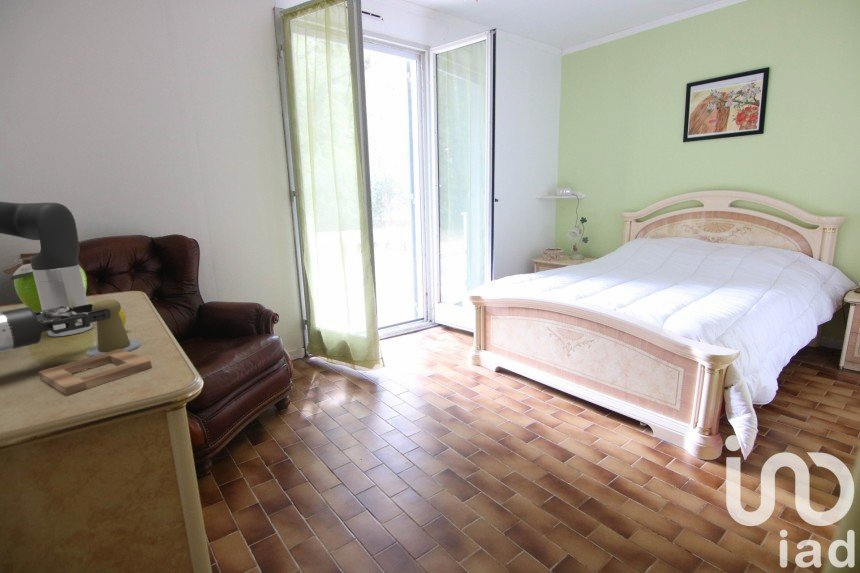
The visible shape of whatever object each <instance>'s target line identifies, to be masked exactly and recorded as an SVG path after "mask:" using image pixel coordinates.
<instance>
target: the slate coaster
mask: <svg viewBox="0 0 860 573" xmlns="http://www.w3.org/2000/svg"><path fill="white" fill-rule="evenodd" d="M128 339H129V341H130V346H129V347H126V348H124V349H122V350H125V351H127V352H131V351H134V350H136V349H138V348H139V347H140V346H142V345H141V344H142V343H141V340H140V339H137V338H128ZM103 353H107V352H99V351H98V344H96V345H95V346H92V347H90V348H89V349H88V350H87V351H86V354H87V356H88V357H90V356H91V357H92V356H96V355H100V354H103Z"/></svg>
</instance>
